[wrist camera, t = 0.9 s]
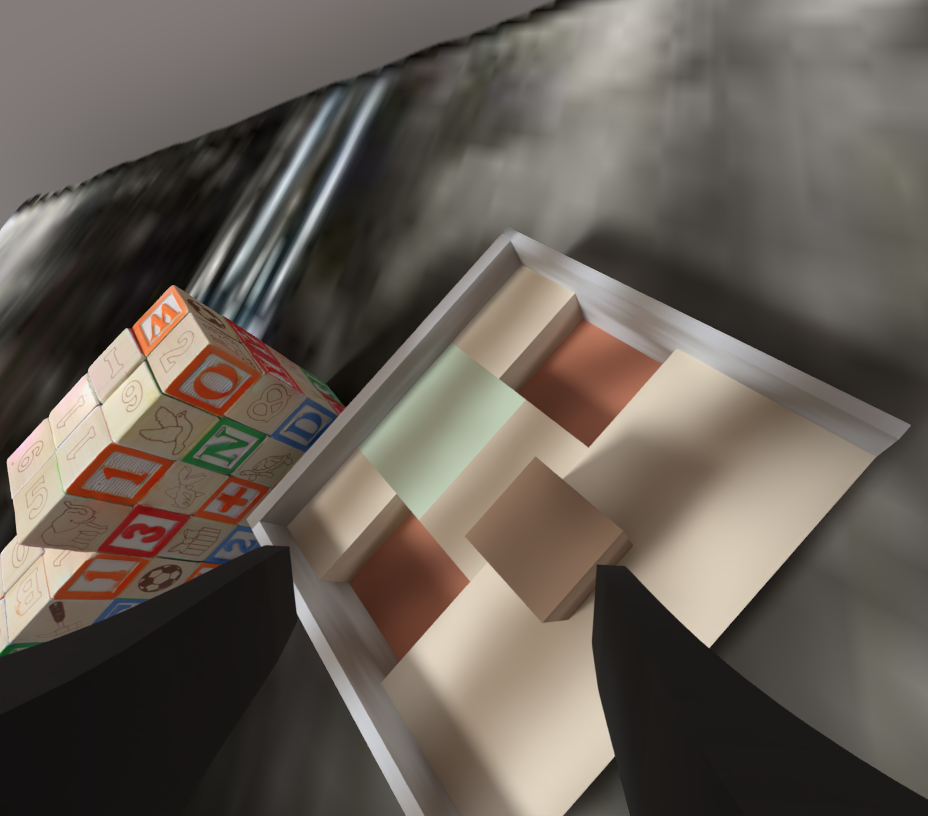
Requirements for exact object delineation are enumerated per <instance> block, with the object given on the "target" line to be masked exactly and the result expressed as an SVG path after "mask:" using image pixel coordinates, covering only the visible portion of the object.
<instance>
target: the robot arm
mask: <svg viewBox="0 0 928 816" xmlns="http://www.w3.org/2000/svg"><path fill="white" fill-rule="evenodd" d="M296 622H297V611H296V602H295V593H294V584H293V575H292V565H291V556H290V547H289V546H275V545H264V546H262V547H259V548H256V549H254V550H252V551H249V552H247V553H245V554H243V555H241V556H238V557H236V558H234V559H232V560H230V561H228V562H226V563H224V564H222V565H220V566H218V567H216V568H214V569H212V570H210V571H208V572H206V573H204V574H202V575H200V576H198V577H196V578H194V579H191V580H189V581H187V582H185V583H183V584H181V585H179V586H177V587H175V588H173V589H171V590H169V591H166V592H164V593H162V594H160V595H158V596H156V597H153V598H151V599H149V600H147V601H145V602H143V603H140V604H138V605H136V606H134V607H132V608H130V609H127V610H125V611H123V612H121V613H118V614H116V615H114V616H111V617H109V618H106V619H104V620H102V621H99V622H97V623H94V624H92V625H89V626H87V627H84V628H81V629H79V630H76V631H74V632H71V633H68V634H66V635H63V636H61V637H58V638H55V639H53V640H50V641H47V642H44V643H41V644H38V645H35V646H32V647H29V648H26V649H23V650H20V651H17V652H14V653H11V654H8V655H5V656H2V657H0V816H180V815H181V813H182V812H183V810H184V808H185V806H186V804H187V803H188V801H189V799H190V797H191V795H192V793H193V792H194V790H195V788H196V786H197V784H198V783H199V781H200V780H201V778H202V776H203V775H204V773H205V771H206V770H207V768H208V767H209V765H210V763H211V762H212V760H213V759H214V757H215V756H216V754H217V753H218V751H219V750H220V748H221V746H222V745H223V743H224V742H225V740H226V739H227V737H228V736H229V734H230V733H231V731H232V730H233V728H234V727H235V725H236V724H237V722H238V721H239V719H240V718H241V716H242V715H243V713H244V712H245V710H246V709H247V707H248V706H249V704H250V703H251V701H252V700H253V698H254V697H255V695H256V694H257V692H258V691H259V689H260V688H261V686H262V684H263V683H264V681H265V680H266V678H267V677H268V675H269V674H270V672H271V671H272V669H273V667H274V666H275V664H276V663H277V661H278V659H279V657H280V655H281V653H282V651H283V649H284V647H285V645H286V643H287V641H288V639H289V637H290V635H291V633H292V631H293V629H294V627H295V624H296ZM592 650H593V657H594V665H595V672H596V679H597V685H598V691H599V695H600V700H601V704H602V708H603V711H604V715H605V719H606V723H607V727H608V731H609V735H610V739H611V743H612V747H613V750H614V754H615V758H616V762H617V766H618V770H619V774H620V778H621V781H622V785H623V789H624V793H625V797H626V801H627V805H628V809H629V813H630V816H928V799H926V798H924V797H922V796H921V795H919V794H917V793H916V792H914V791H912V790H910V789H909V788H907V787H905V786H904V785H902V784H900V783H898V782H897V781H895V780H893V779H892V778H890V777H888V776H887V775H885V774H884V773H882V772H880V771H879V770H877V769H876V768H874V767H872V766H871V765H869V764H867V763H866V762H864V761H863V760H861V759H859V758H858V757H856V756H855V755H853V754H851V753H850V752H848V751H847V750H845V749H844V748H842V747H841V746H839V745H838V744H836V743H835V742H833V741H832V740H830V739H829V738H827V737H826V736H824V735H823V734H821V733H820V732H818V731H817V730H815V729H814V728H812V727H811V726H809V725H808V724H806V723H805V722H803V721H802V720H801V719H799V718H798V717H796V716H795V715H794V714H792V713H791V712H789V711H788V710H786V709H785V708H784V707H782V706H781V705H780V704H778V703H777V702H776V701H774V700H773V699H772V698H770V697H769V696H768V695H766V694H765V693H764V692H762V691H761V690H760V689H758V688H757V687H756V686H755V685H753V684H752V683H751V682H749V681H748V680H747V679H745V678H744V677H743V676H742V675H740V674H739V673H738V672H737V671H735V670H734V669H733V668H732V667H731V666H729V665H728V664H727V663H726V662H725V661H723V660H722V659H721V658H720V657H719V656H718V655H717V654H715V653H714V652H713V651H712V650H711V649H710V648H708V647H707V646H706V645H705V644H704V643H703V642H702V641H700V640H699V639H698V638H697V637H696V636H695V635H694V634H693V633H692V632H691V631H690V630H688V629H687V628H686V627H685V626H684V625H683V624H682V623H681V622H680V621H679V620H678V619H677V618H676V617H675V616H674V615H673V614H672V613H671V612H670V611H669V610H668V609H667V608H666V607H665V606H664V605H663V604H662V603H661V602H660V601H659V600H658V599H657V598H656V597H655V596H654V595H653V594H652V593H651V592H650V591H649V590H648V589H647V588H646V587H645V586H644V585H643V584H642V583H641V582H640V581H639V580H638V578H637V577H636V576H635V575H634V574H633V573H632V572H631V571H630V570H629V569H628V568H627V567H626V566H617V565H599V564H597V569H596V584H595V599H594V615H593V630H592Z"/></svg>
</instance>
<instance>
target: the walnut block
mask: <svg viewBox="0 0 928 816" xmlns="http://www.w3.org/2000/svg"><path fill="white" fill-rule="evenodd" d="M465 537H466V538H467V540H468V541H469V542H470V543H471V544H472V545H473V546H474V547H475V548H476V550H477V551H478V552H479V553H480V554H481V555H482V556H483V557H484V559H485V560H486V561H487V562H488V563H489V564H490V565H491V566H492V567H493V569H494V570H495V571H496V572H497V573H498V574H499V575H500V576H501V578H502V579H503V580H504V581H505V582H506V583H507V584H508V585H509V587H510V588H511V589H512V590H513V591H514V592H515V593H516V594H517V595H518V597H519V598H520V599H521V600H522V601H523V602H524V603H525V604H526V606H527V607H528V608H529V609H530V610H531V611H532V612H533V613H534V614H535V616H536V617H537V618H538V619H539V620H540V621H541V622H542V623H547V622H556V621H565V620H568V619H569V618H570V617H571V616H572V615H573V613H574V612H575V611H576V610H577V609H578V608H579V607H580V605H581V604H582V603H583V602H584V601H585V600H586V599H587V598H588V596H589V595H590V594H591V593H592V592H593V591H594V590H595V584H596V569H597V564H599V565H617V563H618V562H619V561H620V560H621V559H622V558H623V557H624V555H625V554H626V553H627V552H628V551H629V550H630V549H631V547H632V546H633V544H632V542H631V541H630V540H629V538H628V537H627V535H626V534H625V533H624V531H623V530H622V529H620V528H619V527H618V526H617V525H616V524H615V523H613V522H612V521H611V520H610V519H609V518H607V517H606V516H605V515H604V514H603V513H602V512H600V511H599V510H598V509H597V508H596V507H595V506H593V505H592V504H591V503H590V502H589V501H587V500H586V499H585V498H584V497H583V496H582V495H580V494H579V493H578V492H577V491H576V490H575V489H573V488H572V487H571V486H570V485H569V484H568V483H566V482H565V481H564V480H563V479H562V478H560V477H559V476H558V475H557V474H556V473H555V472H553V471H552V470H551V469H550V468H549V467H548V466H546V465H545V464H544V463H543V462H542V461H541V460H539V459H538V458H537V457H536V456H535V457H534V458H533V460H532V461H531V462H530V463H529V464H528V465H527V466H526V467H525V469H524V470H523V471H522V472H521V473H520V474H519V475H518V477H517V478H516V479H515V480H514V481H513V482H512V483H511V484H510V486H509V487H508V488H507V489H506V490H505V491H504V492H503V493H502V495H501V496H500V497H499V498H498V499H497V500H496V501H495V502H494V504H493V505H492V506H491V507H490V508H489V509H488V510H487V512H486V513H485V514H484V515H483V516H482V517H481V518H480V519H479V521H478V522H477V523H476V524H475V525H474V526H473V527H472V528H471V530H470V531H469V532H468V533H467V534H466V535H465Z"/></svg>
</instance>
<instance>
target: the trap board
mask: <svg viewBox="0 0 928 816" xmlns="http://www.w3.org/2000/svg"><path fill="white" fill-rule="evenodd" d="M910 426H911V425H910V424H908V423H906V422H904V421H902V420H900V419H898V418H896V417H894V416H892V415H890V414H888V413H885V412H883V411H881V410H879V409H877V408H875V407H873V406H871V405H869V404H867V403H865V402H863V401H861V400H859V399H857V398H855V397H853V396H851V395H849V394H847V393H845V392H843V391H841V390H839V389H837V388H835V387H832V386H830V385H828V384H826V383H824V382H822V381H820V380H818V379H816V378H814V377H812V376H810V375H808V374H806V373H804V372H802V371H800V370H798V369H796V368H794V367H792V366H790V365H788V364H786V363H784V362H782V361H779V360H777V359H775V358H773V357H771V356H769V355H767V354H765V353H763V352H761V351H759V350H757V349H755V348H753V347H751V346H749V345H747V344H745V343H743V342H741V341H739V340H737V339H735V338H733V337H731V336H729V335H726V334H724V333H722V332H720V331H718V330H716V329H714V328H712V327H710V326H708V325H706V324H704V323H702V322H700V321H698V320H696V319H694V318H692V317H690V316H688V315H686V314H684V313H682V312H680V311H678V310H676V309H673V308H671V307H669V306H667V305H665V304H663V303H661V302H659V301H657V300H655V299H653V298H651V297H649V296H647V295H645V294H643V293H641V292H639V291H637V290H635V289H633V288H631V287H629V286H627V285H625V284H623V283H620V282H618V281H616V280H614V279H612V278H610V277H608V276H606V275H604V274H602V273H600V272H598V271H596V270H594V269H592V268H590V267H588V266H586V265H584V264H582V263H580V262H578V261H576V260H574V259H572V258H570V257H567V256H565V255H563V254H561V253H559V252H557V251H555V250H553V249H551V248H549V247H547V246H545V245H543V244H541V243H539V242H537V241H535V240H533V239H531V238H529V237H527V236H525V235H523V234H521V233H519V232H517V231H514V230H512V229H510V228H508V227H507V228H506V230H505V231H504V232H503V233H502V234H501V235H500V236H499V237H498V239H497V240H496V241H495V242H494V243H493V244H492V245H491V246H490V247H489V249H488V250H487V251H486V252H485V253H484V254H483V255H482V256H481V258H480V259H479V260H478V261H477V262H476V263H475V264H474V265H473V266H472V268H471V269H470V270H469V271H468V272H467V273H466V274H465V275H464V277H463V278H462V279H461V280H460V281H459V282H458V283H457V284H456V285H455V287H454V288H453V289H452V290H451V291H450V292H449V293H448V294H447V296H446V297H445V298H444V299H443V300H442V301H441V302H440V303H439V304H438V306H437V307H436V308H435V309H434V310H433V311H432V312H431V313H430V315H429V316H428V317H427V318H426V319H425V320H424V321H423V322H422V323H421V325H420V326H419V327H418V328H417V329H416V330H415V331H414V332H413V334H412V335H411V336H410V337H409V338H408V339H407V340H406V341H405V342H404V344H403V345H402V346H401V347H400V348H399V349H398V350H397V351H396V353H395V354H394V355H393V356H392V357H391V358H390V359H389V360H388V361H387V363H386V364H385V365H384V366H383V367H382V368H381V369H380V370H379V372H378V373H377V374H376V375H375V376H374V377H373V378H372V379H371V380H370V382H369V383H368V384H367V385H366V386H365V387H364V388H363V389H362V390H361V392H360V393H359V394H358V395H357V396H356V397H355V398H354V399H353V401H352V402H351V403H350V404H349V405H348V406H347V407H346V408H345V409H344V411H343V412H342V413H341V414H340V415H339V416H338V417H337V418H336V420H335V421H334V422H333V423H332V424H331V425H330V426H329V427H328V428H327V430H326V431H325V432H324V433H323V434H322V435H321V436H320V437H319V439H318V440H317V441H316V442H315V443H314V444H313V445H312V446H311V447H310V449H309V450H308V451H307V452H306V453H305V454H304V455H303V456H302V458H301V459H300V460H299V461H298V462H297V463H296V464H295V465H294V466H293V468H292V469H291V470H290V471H289V472H288V473H287V474H286V475H285V477H284V478H283V479H282V480H281V481H280V482H279V483H278V484H277V485H276V487H275V488H274V489H273V490H272V491H271V492H270V493H269V494H268V496H267V497H266V498H265V499H264V500H263V501H262V502H261V503H260V504H259V506H258V507H257V508H256V509H255V510H254V511H253V512H252V513H251V515H250V516H249V517H248V518H247V519H246V520H247V522H248V523H249V525H250V527H251V529H252V531H253V533H254V535H255V536H256V538H257V540H258V542H259V544H260V546H261V547H262V546H264V545H275V546H289V547H290V556H291V565H292V575H293V584H294V593H295V602H296V611H297V614H298V616H299V618H300V620H301V622H302V624H303V626H304V627H305V629H306V631H307V633H308V635H309V637H310V639H311V640H312V642H313V644H314V646H315V648H316V650H317V651H318V653H319V655H320V657H321V659H322V661H323V663H324V664H325V666H326V668H327V670H328V672H329V674H330V676H331V677H332V679H333V681H334V683H335V685H336V687H337V689H338V690H339V692H340V694H341V696H342V698H343V700H344V702H345V703H346V705H347V707H348V709H349V711H350V713H351V715H352V716H353V718H354V720H355V722H356V724H357V726H358V728H359V729H360V731H361V733H362V735H363V737H364V739H365V741H366V742H367V744H368V746H369V748H370V750H371V752H372V754H373V755H374V757H375V759H376V761H377V763H378V765H379V767H380V768H381V770H382V772H383V774H384V776H385V778H386V780H387V781H388V783H389V785H390V787H391V789H392V791H393V792H394V794H395V796H396V798H397V800H398V802H399V804H400V805H401V807H402V809H403V811H404V813H405V815H406V816H563V815H564V814H565V813H566V812H567V810H568V809H569V808H570V807H571V806H572V805H573V804H574V802H575V801H576V800H577V799H578V798H579V797H580V796H581V794H582V793H583V792H584V791H585V790H586V789H587V788H588V786H589V785H590V784H591V783H592V782H593V781H594V780H595V778H596V777H597V776H598V775H599V774H600V773H601V772H602V770H603V769H604V768H605V767H606V766H607V765H608V763H609V762H610V761H611V760H612V759H613V758H614V757H615V754H614V750H613V747H612V743H611V739H610V735H609V731H608V727H607V723H606V719H605V715H604V711H603V708H602V704H601V700H600V695H599V691H598V685H597V679H596V672H595V665H594V657H593V650H592V630H593V615H594V599H595V590H594V591H593V592H592V593H591V594H590V595H589V596H588V598H587V599H586V600H585V601H584V602H583V603H582V604H581V605H580V607H579V608H578V609H577V610H576V611H575V612H574V613H573V615H572V616H571V617H570V618H569V619H568V620H565V621H556V622H547V623H542V622H541V621H540V620H539V619H538V618H537V617H536V616H535V614H534V613H533V612H532V611H531V610H530V609H529V608H528V607H527V606H526V604H525V603H524V602H523V601H522V600H521V599H520V598H519V597H518V595H517V594H516V593H515V592H514V591H513V590H512V589H511V588H510V587H509V585H508V584H507V583H506V582H505V581H504V580H503V579H502V578H501V576H500V575H499V574H498V573H497V572H496V571H495V570H494V569H493V567H492V566H491V565H490V564H489V563H488V562H487V561H486V560H485V559H484V557H483V556H482V555H481V554H480V553H479V552H478V551H477V550H476V548H475V547H474V546H473V545H472V544H471V543H470V542H469V541H468V540H467V538H466V537H465V535H466V534H467V533H468V532H469V531H470V530H471V528H472V527H473V526H474V525H475V524H476V523H477V522H478V521H479V519H480V518H481V517H482V516H483V515H484V514H485V513H486V512H487V510H488V509H489V508H490V507H491V506H492V505H493V504H494V502H495V501H496V500H497V499H498V498H499V497H500V496H501V495H502V493H503V492H504V491H505V490H506V489H507V488H508V487H509V486H510V484H511V483H512V482H513V481H514V480H515V479H516V478H517V477H518V475H519V474H520V473H521V472H522V471H523V470H524V469H525V467H526V466H527V465H528V464H529V463H530V462H531V461H532V460H533V458H534V457H535V456H536V457H537V458H538V459H539V460H541V461H542V462H543V463H544V464H545V465H546V466H548V467H549V468H550V469H551V470H552V471H553V472H555V473H556V474H557V475H558V476H559V477H560V478H562V479H563V480H564V481H565V482H566V483H568V484H569V485H570V486H571V487H572V488H573V489H575V490H576V491H577V492H578V493H579V494H580V495H582V496H583V497H584V498H585V499H586V500H587V501H589V502H590V503H591V504H592V505H593V506H595V507H596V508H597V509H598V510H599V511H600V512H602V513H603V514H604V515H605V516H606V517H607V518H609V519H610V520H611V521H612V522H613V523H615V524H616V525H617V526H618V527H619V528H620V529H622V530H623V531H624V533H625V534H626V535H627V537H628V538H629V540H630V541H631V542H632V544H633V546H632V547H631V549H630V550H629V551H628V552H627V553H626V554H625V555H624V557H623V558H622V559H621V560H620V561H619V562H618V563H617V566H626V567H627V568H628V569H629V570H630V571H631V572H632V573H633V574H634V575H635V576H636V577H637V578H638V580H639V581H640V582H641V583H642V584H643V585H644V586H645V587H646V588H647V589H648V590H649V591H650V592H651V593H652V594H653V595H654V596H655V597H656V598H657V599H658V600H659V601H660V602H661V603H662V604H663V605H664V606H665V607H666V608H667V609H668V610H669V611H670V612H671V613H672V614H673V615H674V616H675V617H676V618H677V619H678V620H679V621H680V622H681V623H682V624H683V625H684V626H685V627H686V628H687V629H688V630H690V631H691V632H692V633H693V634H694V635H695V636H696V637H697V638H698V639H699V640H700V641H702V642H703V643H704V644H705V645H706V646H707V647H708V648H710V647H711V645H712V644H713V643H714V642H715V641H716V640H717V639H718V637H719V636H720V635H721V634H722V633H723V632H724V631H725V629H726V628H727V627H728V626H729V625H730V624H731V623H732V621H733V620H734V619H735V618H736V617H737V616H738V615H739V613H740V612H741V611H742V610H743V609H744V608H745V607H746V605H747V604H748V603H749V602H750V601H751V600H752V599H753V597H754V596H755V595H756V594H757V593H758V592H759V590H760V589H761V588H762V587H763V586H764V585H765V584H766V582H767V581H768V580H769V579H770V578H771V577H772V576H773V574H774V573H775V572H776V571H777V570H778V569H779V568H780V566H781V565H782V564H783V563H784V562H785V561H786V560H787V558H788V557H789V556H790V555H791V554H792V553H793V552H794V550H795V549H796V548H797V547H798V546H799V545H800V544H801V542H802V541H803V540H804V539H805V538H806V537H807V535H808V534H809V533H810V532H811V531H812V530H813V529H814V527H815V526H816V525H817V524H818V523H819V522H820V521H821V519H822V518H823V517H824V516H825V515H826V514H827V513H828V511H829V510H830V509H831V508H832V507H833V506H834V505H835V503H836V502H837V501H838V500H839V499H840V498H841V497H842V495H843V494H844V493H845V492H846V491H847V490H848V489H849V487H850V486H851V485H852V484H853V483H854V482H855V480H856V479H857V478H858V477H859V476H860V475H861V474H862V472H863V471H864V470H865V469H866V468H867V467H868V466H869V464H870V463H871V462H872V461H873V460H874V459H875V458H876V457H877V456H878V455H879V454H881V453H882V452H883V451H884V450H886V449H887V448H888V447H890V446H891V445H892V444H894V443H895V442H896V441H897V440H899V439H900V438H901V436H902V435H903V434H904V433H905V432H906V431H907V430H908V428H909V427H910Z"/></svg>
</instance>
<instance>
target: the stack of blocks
mask: <svg viewBox="0 0 928 816" xmlns="http://www.w3.org/2000/svg"><path fill="white" fill-rule="evenodd" d="M345 408H346V407H345V406H344V405H343V404H342V403H341V401H340V400H339V399H338V398H337V397H336V395H335V394H334V393H333V392H332V390H331V389H330V388H329V387H328V385H327V384H326V383H324V382H323V381H321V380H320V379H318V378H317V377H315V376H314V375H312V374H310V373H309V372H307V371H306V370H304V369H303V368H301V367H299V366H297V365H296V364H294V363H293V362H291V361H290V360H288V359H287V358H285V357H284V356H282V355H281V354H280V353H278V352H277V351H275V350H274V349H272V348H270V347H269V346H268V345H266V344H264V343H263V342H262V341H261V340H259V339H258V338H256V337H255V336H253V335H252V334H250V333H248V332H247V331H245V330H244V329H243V328H241V327H240V326H237V325H236V324H235V323H233V322H232V321H231V320H229V319H227V318H226V317H224V316H221V315H219V314H218V313H216V312H215V311H213V310H212V309H210V308H208V307H207V306H205V305H204V304H202V303H201V302H199V301H198V300H196V299H195V298H193V297H192V296H190V295H189V294H187V293H186V292H184V291H183V290H181V289H179V288H178V287H176V286H175V285H172V286H171V287H170V288H169V289H168V290H167V291H166V292H165V293H164V294H163V295H162V296H161V297H160V298H159V300H158V301H157V302H156V303H155V304H154V305H153V306H152V307H151V308H150V309H149V310H148V311H147V312H146V313H145V314H144V315H143V316H142V317H141V318H140V319H139V321H138V322H137V323H136V324H135V325H134V326H133V329H125V330H124V331H123V332H122V333H121V334H120V335H119V336H118V337H117V338H116V340H115V341H114V342H113V343H112V344H111V345H110V346H109V347H108V348H107V349H106V350H105V351H104V352H103V353H102V354H101V355H100V357H99V358H98V359H97V360H96V361H95V362H94V363H93V364H92V365H91V366H90V368H89V369H88V374H86V375H84V376H83V377H82V378H81V379H80V380H79V382H78V383H77V384H76V385H75V386H74V387H73V388H72V389H71V391H70V392H68V393H67V395H66V396H65V397H64V398H63V399H62V400H61V401H60V403H59V404H58V405H57V406H56V407H55V408H54V409H53V410H52V411H51V413H50V415H49V418H47V419H45V420H44V421H43V422H42V423H41V424H40V425H39V426H38V427H37V428H36V429H35V430H34V431H33V432H32V434H31V435H30V436H29V437H28V438H27V439H26V440H25V441H24V442H23V443H22V444H21V445H20V447H19V448H18V449H17V450H16V451H15V452H14V453H13V454H12V455H11V456H10V457H9V458H8V460H7V467H8V474H9V481H10V488H11V495H12V499H13V503H14V509H15V517H16V529H17V536H16V537H15V538H14V539H13V540H12V541H11V542H10V543H9V544H8V545H7V546H6V548H5V549H4V550H3V551H2V552H1V555H0V657H2V656H5V655H8V654H11V653H14V652H17V651H20V650H23V649H26V648H29V647H32V646H35V645H38V644H41V643H44V642H47V641H50V640H53V639H55V638H58V637H61V636H63V635H66V634H68V633H71V632H74V631H76V630H79V629H81V628H84V627H87V626H89V625H92V624H94V623H97V622H99V621H102V620H104V619H106V618H109V617H111V616H114V615H116V614H118V613H121V612H123V611H125V610H127V609H130V608H132V607H134V606H136V605H138V604H140V603H143V602H145V601H147V600H149V599H151V598H153V597H156V596H158V595H160V594H162V593H164V592H166V591H169V590H171V589H173V588H175V587H177V586H179V585H181V584H183V583H185V582H187V581H189V580H191V579H194V578H196V577H198V576H200V575H202V574H204V573H206V572H208V571H210V570H212V569H214V568H216V567H218V566H220V565H222V564H224V563H226V562H228V561H230V560H232V559H234V558H236V557H238V556H241V555H243V554H245V553H247V552H249V551H252V550H254V549H256V548H259V547H260V544H259V542H258V540H257V538H256V536H255V535H254V533H253V531H252V529H251V527H250V525H249V523H248V522H247V520H246V519H247V518H248V517H249V516H250V515H251V513H252V512H253V511H254V510H255V509H256V508H257V507H258V506H259V504H260V503H261V502H262V501H263V500H264V499H265V498H266V497H267V496H268V494H269V493H270V492H271V491H272V490H273V489H274V488H275V487H276V485H277V484H278V483H279V482H280V481H281V480H282V479H283V478H284V477H285V475H286V474H287V473H288V472H289V471H290V470H291V469H292V468H293V466H294V465H295V464H296V463H297V462H298V461H299V460H300V459H301V458H302V456H303V455H304V454H305V453H306V452H307V451H308V450H309V449H310V447H311V446H312V445H313V444H314V443H315V442H316V441H317V440H318V439H319V437H320V436H321V435H322V434H323V433H324V432H325V431H326V430H327V428H328V427H329V426H330V425H331V424H332V423H333V422H334V421H335V420H336V418H337V417H338V416H339V415H340V414H341V413H342V412H343V411H344V409H345Z"/></svg>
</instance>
